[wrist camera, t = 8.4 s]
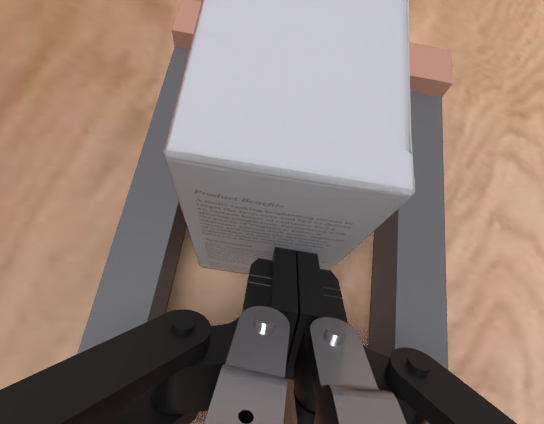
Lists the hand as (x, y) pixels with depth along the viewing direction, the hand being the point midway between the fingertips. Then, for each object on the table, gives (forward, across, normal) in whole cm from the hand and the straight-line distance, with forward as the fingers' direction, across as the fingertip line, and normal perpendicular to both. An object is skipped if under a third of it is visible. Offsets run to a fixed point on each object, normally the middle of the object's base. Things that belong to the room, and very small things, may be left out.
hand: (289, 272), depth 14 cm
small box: (+6, +1, 0) cm, 6 cm away
